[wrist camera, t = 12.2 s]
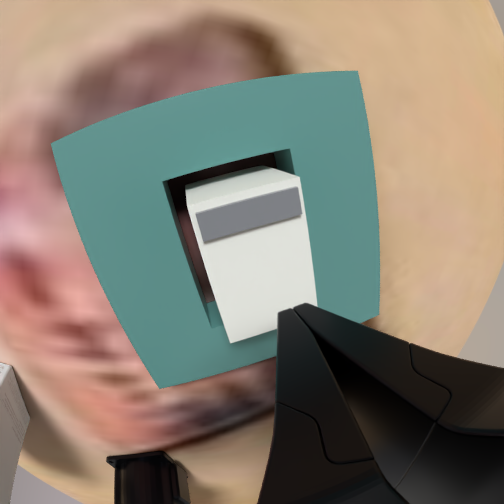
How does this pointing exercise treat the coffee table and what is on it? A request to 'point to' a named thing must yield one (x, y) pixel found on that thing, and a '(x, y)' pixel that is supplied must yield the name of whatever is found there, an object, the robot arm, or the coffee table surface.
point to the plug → (253, 246)
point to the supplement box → (10, 429)
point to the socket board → (205, 156)
